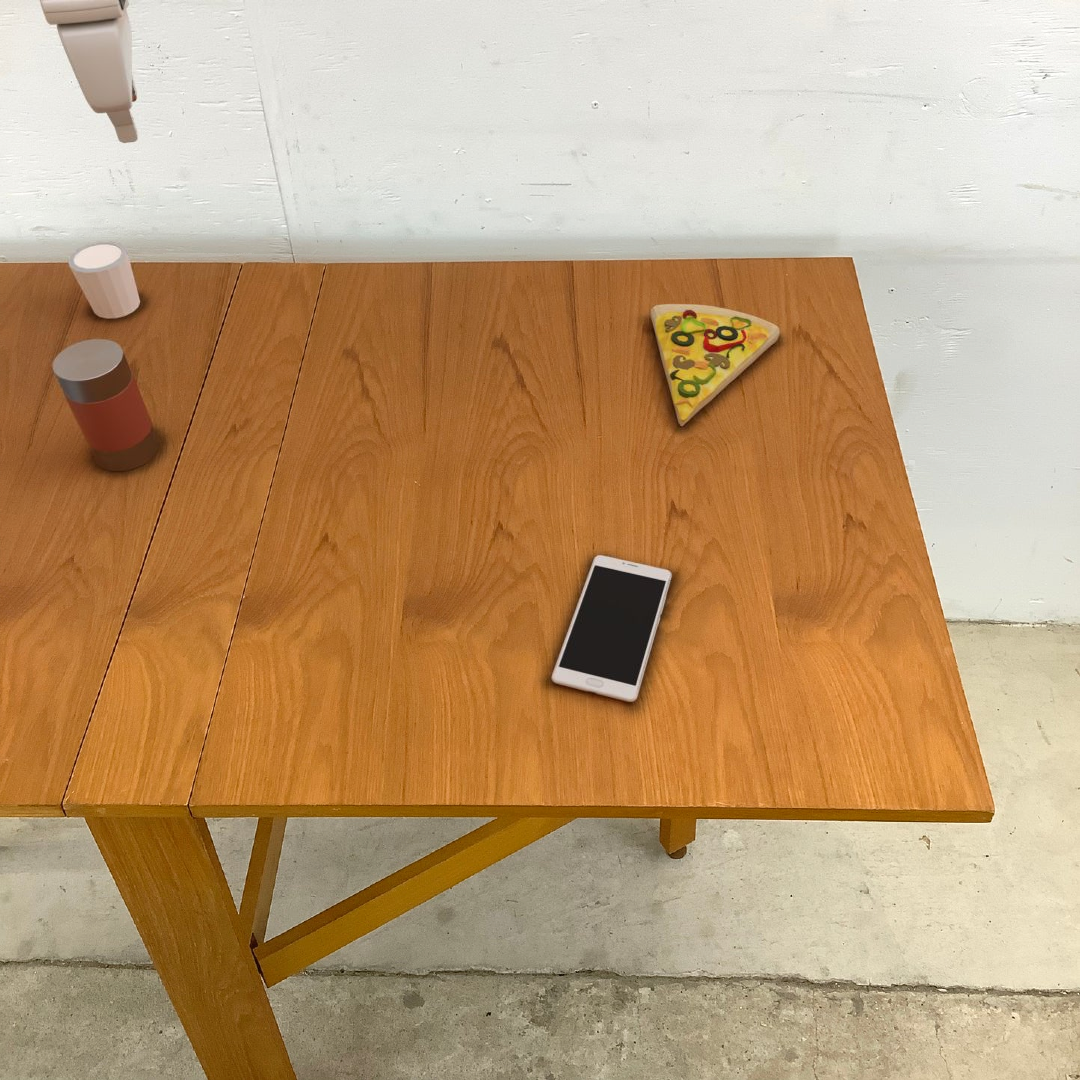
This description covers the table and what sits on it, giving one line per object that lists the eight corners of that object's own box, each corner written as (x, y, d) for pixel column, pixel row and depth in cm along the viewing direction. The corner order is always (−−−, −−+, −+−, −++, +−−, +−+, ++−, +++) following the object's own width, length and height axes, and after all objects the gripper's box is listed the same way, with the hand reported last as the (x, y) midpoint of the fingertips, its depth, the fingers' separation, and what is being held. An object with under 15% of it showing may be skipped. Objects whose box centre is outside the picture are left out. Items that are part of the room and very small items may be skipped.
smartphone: (549, 679, 83) (595, 552, 93) (549, 684, 84) (595, 557, 93) (636, 701, 82) (673, 570, 91) (635, 705, 82) (672, 574, 92)
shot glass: (130, 323, 120) (111, 273, 115) (78, 319, 121) (57, 269, 115) (154, 292, 124) (136, 242, 119) (103, 287, 125) (84, 238, 120)
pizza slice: (780, 331, 117) (784, 310, 115) (751, 442, 104) (755, 421, 102) (654, 309, 121) (655, 288, 118) (610, 414, 107) (611, 392, 105)
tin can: (81, 460, 103) (36, 369, 95) (125, 422, 107) (86, 331, 99) (129, 479, 101) (88, 388, 92) (173, 440, 105) (138, 349, 96)
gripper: (51, -63, 96) (99, 81, 106) (39, 12, 83) (94, 168, 93) (118, -69, 97) (159, 74, 107) (117, 4, 84) (163, 159, 94)
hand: (129, 118), depth 100 cm, fingers open, 8 cm apart
